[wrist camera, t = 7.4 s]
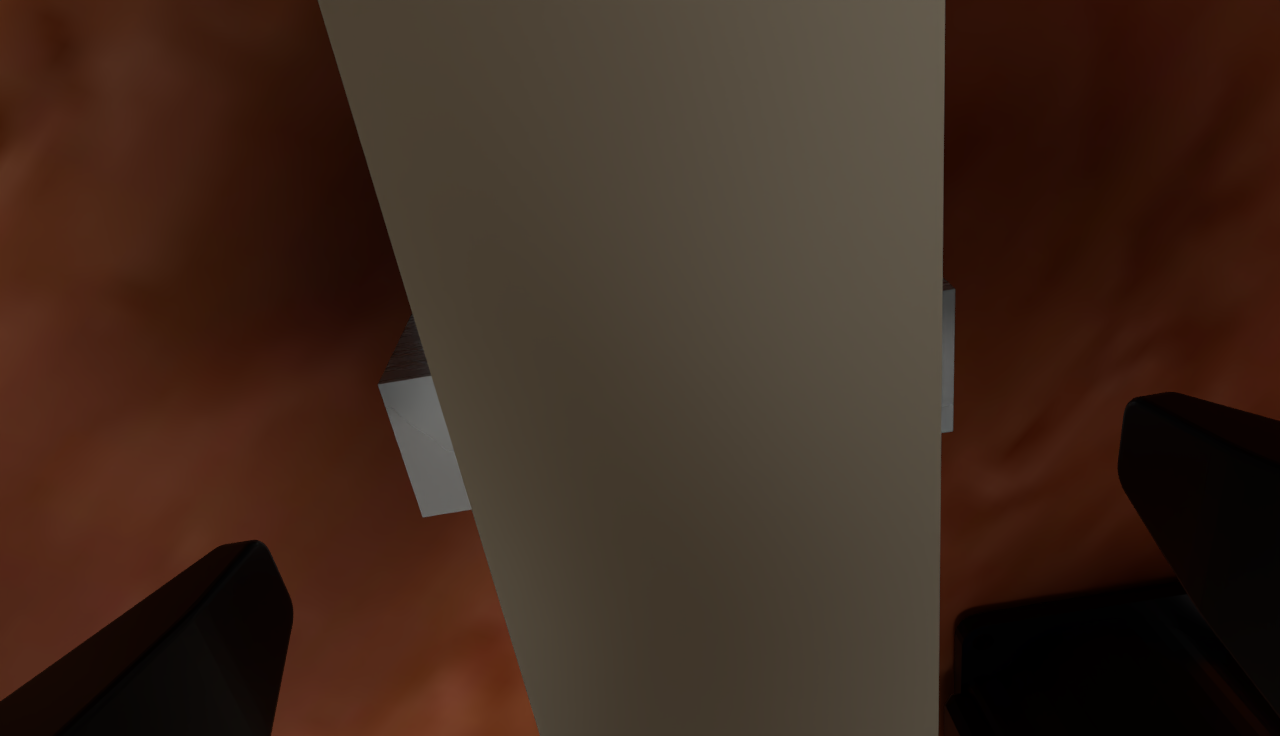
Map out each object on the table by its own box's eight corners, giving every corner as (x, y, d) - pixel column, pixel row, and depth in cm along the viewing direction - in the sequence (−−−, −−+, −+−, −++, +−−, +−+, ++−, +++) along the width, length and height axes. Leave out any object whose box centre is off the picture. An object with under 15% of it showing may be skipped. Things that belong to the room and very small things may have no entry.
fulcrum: (855, -12, 14) (1007, 10, 9) (870, 413, 17) (984, 600, 12) (369, 73, 14) (246, 142, 9) (485, 476, 17) (444, 685, 12)
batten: (702, -631, 6) (961, -1954, 2) (827, 841, 15) (934, 1238, 10) (343, -564, 6) (-200, -1705, 2) (667, 866, 15) (702, 1272, 10)
